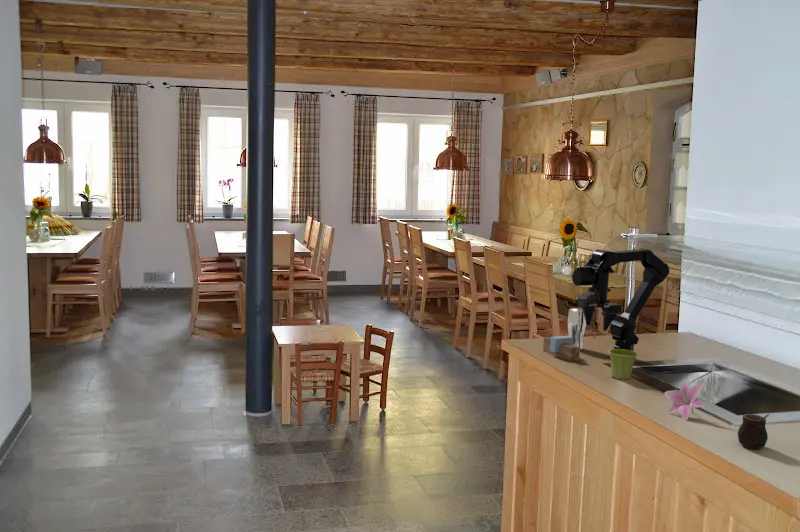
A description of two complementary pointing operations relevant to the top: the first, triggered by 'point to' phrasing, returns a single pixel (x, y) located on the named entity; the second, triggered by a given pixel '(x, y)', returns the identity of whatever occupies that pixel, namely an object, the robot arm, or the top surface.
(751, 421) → the mate gourd
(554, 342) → the light blue block
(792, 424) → the top surface
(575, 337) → the beer glass
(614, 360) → the plant pot
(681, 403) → the lily
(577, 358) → the rail
